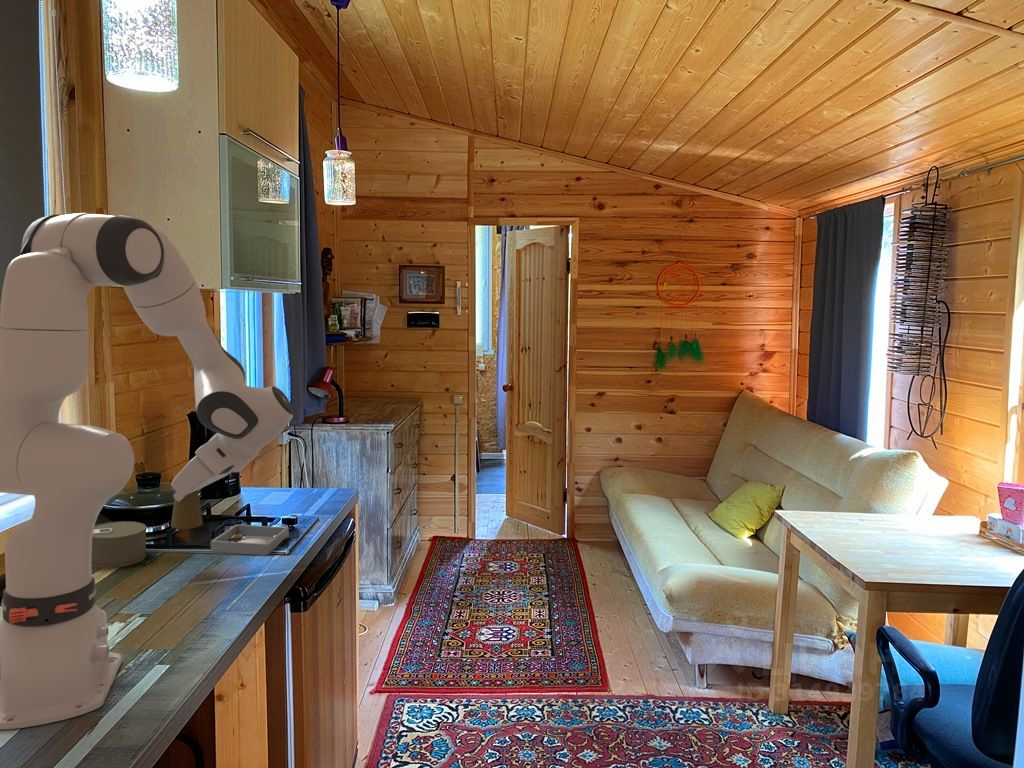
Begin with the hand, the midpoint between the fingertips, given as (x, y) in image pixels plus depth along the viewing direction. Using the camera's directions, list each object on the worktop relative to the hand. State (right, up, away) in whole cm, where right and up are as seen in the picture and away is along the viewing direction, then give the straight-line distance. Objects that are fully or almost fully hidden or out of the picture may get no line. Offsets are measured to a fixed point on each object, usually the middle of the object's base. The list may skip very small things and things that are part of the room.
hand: (183, 495), depth 153 cm
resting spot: (+6, -15, +22) cm, 27 cm away
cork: (0, -6, +1) cm, 6 cm away
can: (-20, -16, +11) cm, 27 cm away
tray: (+6, -15, +22) cm, 28 cm away
